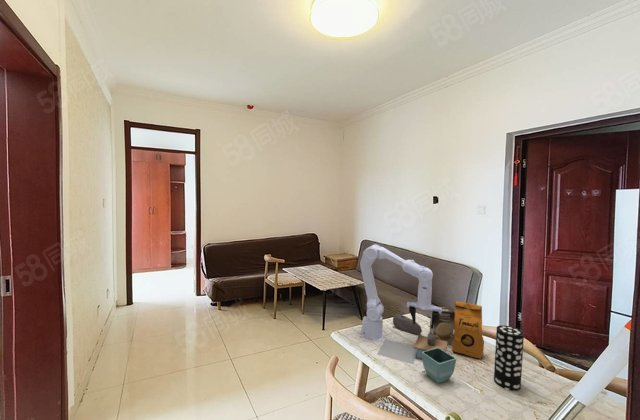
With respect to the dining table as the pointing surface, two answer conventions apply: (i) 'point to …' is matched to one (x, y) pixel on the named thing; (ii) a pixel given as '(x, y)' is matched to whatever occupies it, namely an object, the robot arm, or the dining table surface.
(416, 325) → the perforated stone tool
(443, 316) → the coffee box
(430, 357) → the flower pot
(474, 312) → the coffee package
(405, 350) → the mat
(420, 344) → the lid
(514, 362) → the white-spotted black cylinder
